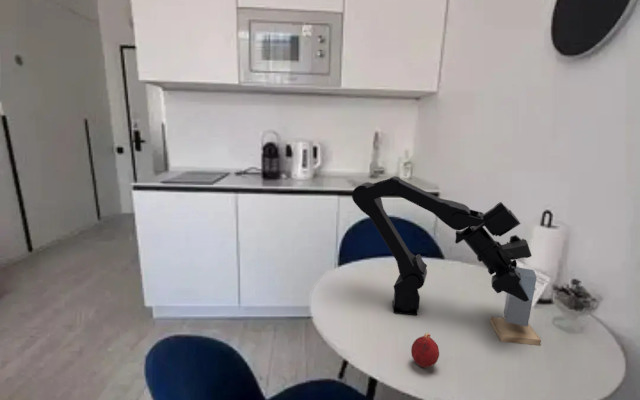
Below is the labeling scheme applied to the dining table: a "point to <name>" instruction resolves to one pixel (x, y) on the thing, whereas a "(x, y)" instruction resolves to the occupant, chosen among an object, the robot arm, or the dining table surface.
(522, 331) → the cork pad
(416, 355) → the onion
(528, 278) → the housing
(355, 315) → the dining table surface
